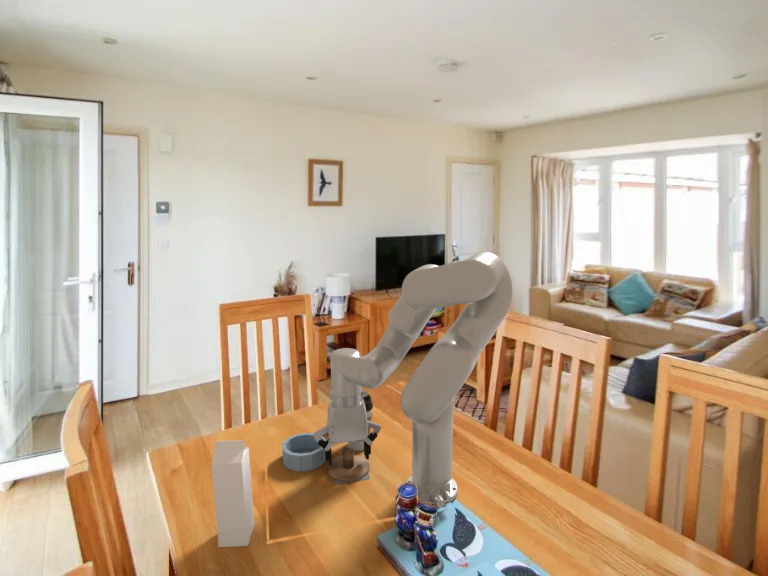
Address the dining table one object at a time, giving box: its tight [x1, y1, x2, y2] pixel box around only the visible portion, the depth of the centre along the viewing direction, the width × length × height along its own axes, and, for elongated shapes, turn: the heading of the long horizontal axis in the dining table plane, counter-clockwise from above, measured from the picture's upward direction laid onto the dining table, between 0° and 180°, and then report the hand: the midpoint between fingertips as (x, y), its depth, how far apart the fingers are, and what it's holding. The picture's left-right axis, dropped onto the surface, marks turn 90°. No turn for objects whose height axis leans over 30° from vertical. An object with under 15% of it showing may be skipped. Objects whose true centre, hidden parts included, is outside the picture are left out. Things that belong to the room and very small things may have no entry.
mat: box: [332, 473, 371, 485], centre depth 120 cm, size 11×9×1 cm
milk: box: [210, 439, 255, 548], centre depth 95 cm, size 6×6×22 cm
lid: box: [327, 444, 370, 483], centre depth 120 cm, size 11×11×6 cm
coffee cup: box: [347, 393, 374, 452], centre depth 131 cm, size 8×8×15 cm
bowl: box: [281, 432, 327, 472], centre depth 125 cm, size 12×12×5 cm
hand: (348, 459), depth 120 cm, fingers open, 9 cm apart
